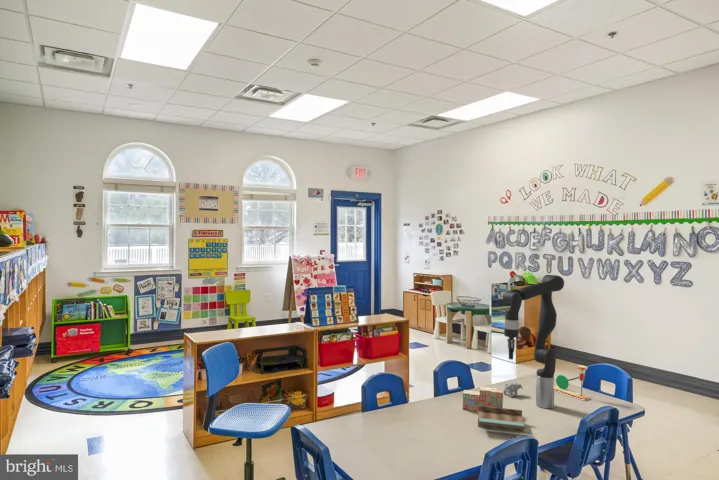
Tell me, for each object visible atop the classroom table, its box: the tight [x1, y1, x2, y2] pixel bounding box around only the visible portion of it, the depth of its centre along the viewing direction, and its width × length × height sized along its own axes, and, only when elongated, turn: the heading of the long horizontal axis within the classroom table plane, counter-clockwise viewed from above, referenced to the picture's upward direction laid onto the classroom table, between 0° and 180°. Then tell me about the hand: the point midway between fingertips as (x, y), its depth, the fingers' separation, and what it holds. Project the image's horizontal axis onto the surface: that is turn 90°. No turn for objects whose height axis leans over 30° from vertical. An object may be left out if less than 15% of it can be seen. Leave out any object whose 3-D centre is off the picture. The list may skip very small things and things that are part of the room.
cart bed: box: [477, 406, 525, 433], centre depth 238 cm, size 22×12×6 cm, turn 76°
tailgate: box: [479, 418, 526, 430], centre depth 227 cm, size 21×1×8 cm
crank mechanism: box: [554, 364, 590, 400], centre depth 289 cm, size 25×7×19 cm, turn 29°
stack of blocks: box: [462, 386, 504, 412], centre depth 258 cm, size 21×6×12 cm, turn 71°
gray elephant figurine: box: [503, 381, 524, 398], centre depth 284 cm, size 9×12×8 cm
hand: (510, 358), depth 257 cm, fingers closed
